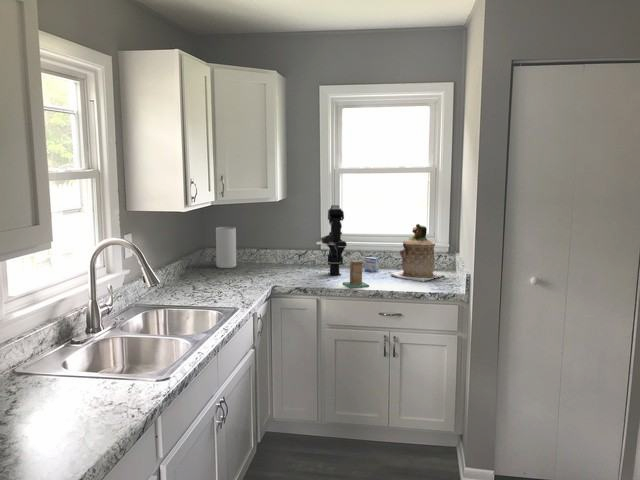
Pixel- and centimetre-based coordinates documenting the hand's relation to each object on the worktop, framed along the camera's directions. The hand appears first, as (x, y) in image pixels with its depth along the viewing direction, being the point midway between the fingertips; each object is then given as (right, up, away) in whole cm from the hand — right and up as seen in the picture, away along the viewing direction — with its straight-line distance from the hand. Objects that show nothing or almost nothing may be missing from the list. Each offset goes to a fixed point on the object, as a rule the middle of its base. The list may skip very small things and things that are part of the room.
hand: (335, 257), depth 312 cm
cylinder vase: (-69, -7, +40) cm, 80 cm away
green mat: (+11, -15, -11) cm, 21 cm away
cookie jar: (+49, -12, +14) cm, 52 cm away
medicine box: (+23, -10, +28) cm, 38 cm away
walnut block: (+11, -14, -11) cm, 21 cm away
